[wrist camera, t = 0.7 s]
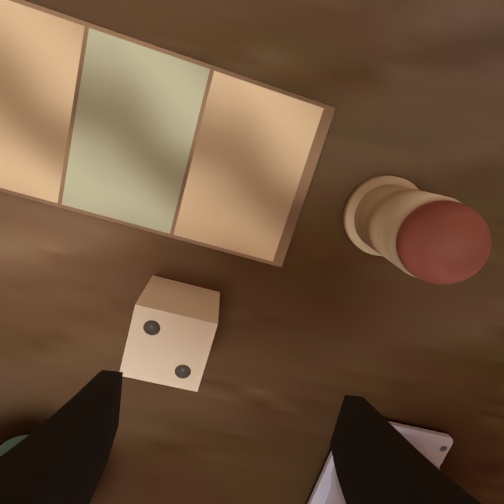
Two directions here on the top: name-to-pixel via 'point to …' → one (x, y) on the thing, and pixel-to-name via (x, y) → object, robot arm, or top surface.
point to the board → (151, 136)
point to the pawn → (417, 230)
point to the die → (171, 334)
